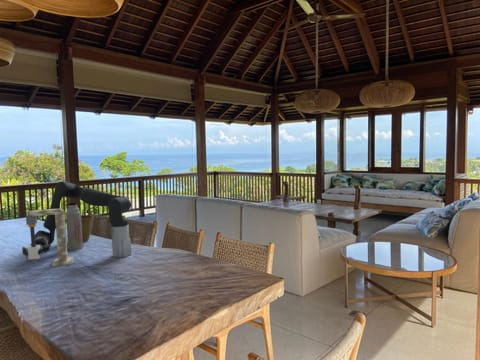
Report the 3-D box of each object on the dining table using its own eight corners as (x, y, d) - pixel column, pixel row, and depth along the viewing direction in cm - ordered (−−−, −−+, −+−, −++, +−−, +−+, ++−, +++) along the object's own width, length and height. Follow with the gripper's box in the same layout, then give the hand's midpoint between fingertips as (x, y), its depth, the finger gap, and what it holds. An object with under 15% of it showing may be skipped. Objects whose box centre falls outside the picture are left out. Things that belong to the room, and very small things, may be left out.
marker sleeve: (40, 255, 176) (39, 244, 175) (38, 258, 172) (37, 247, 171) (30, 256, 174) (29, 245, 174) (28, 259, 170) (27, 248, 169)
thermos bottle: (85, 247, 204) (82, 202, 201) (72, 251, 198) (69, 204, 195) (78, 245, 209) (75, 201, 206) (65, 248, 202) (62, 203, 200)
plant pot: (85, 244, 211) (83, 219, 210) (64, 243, 214) (63, 219, 213) (99, 238, 226) (98, 214, 224) (80, 237, 229) (78, 214, 227)
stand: (73, 258, 184) (69, 207, 181) (71, 263, 176) (68, 209, 173) (34, 263, 177) (30, 209, 174) (31, 269, 169) (26, 212, 166)
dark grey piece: (40, 259, 176) (36, 214, 173) (38, 262, 172) (34, 216, 170) (31, 260, 174) (27, 215, 172) (29, 263, 171) (25, 217, 168)
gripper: (23, 239, 183) (16, 248, 167) (53, 236, 188) (48, 244, 172) (25, 252, 184) (17, 262, 168) (54, 249, 189) (49, 258, 173)
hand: (33, 253), depth 170 cm, fingers closed on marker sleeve, 4 cm apart
